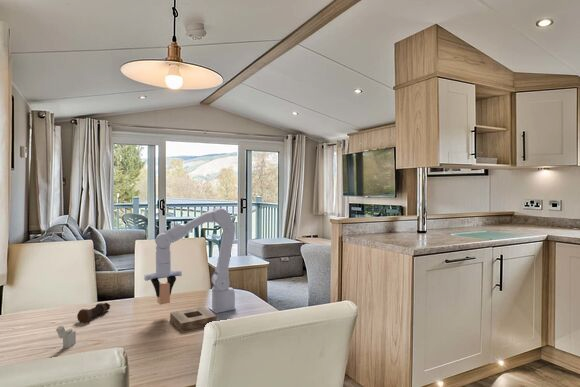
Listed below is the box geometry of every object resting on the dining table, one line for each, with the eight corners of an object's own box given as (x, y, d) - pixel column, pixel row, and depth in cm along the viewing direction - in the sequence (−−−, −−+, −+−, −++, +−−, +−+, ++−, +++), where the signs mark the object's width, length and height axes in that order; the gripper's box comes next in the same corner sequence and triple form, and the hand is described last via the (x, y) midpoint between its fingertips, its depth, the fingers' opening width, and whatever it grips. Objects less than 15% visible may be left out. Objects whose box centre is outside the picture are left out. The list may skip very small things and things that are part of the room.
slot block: (203, 313, 156) (203, 306, 156) (216, 323, 145) (216, 316, 144) (170, 320, 148) (170, 312, 148) (181, 331, 137) (181, 323, 137)
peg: (167, 300, 155) (167, 281, 155) (169, 302, 152) (169, 283, 152) (157, 302, 153) (157, 282, 153) (159, 304, 150) (159, 285, 150)
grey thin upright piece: (71, 342, 127) (71, 319, 127) (76, 342, 127) (75, 319, 127) (56, 351, 120) (55, 327, 120) (60, 352, 120) (60, 327, 120)
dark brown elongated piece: (108, 314, 160) (84, 326, 145) (99, 308, 161) (74, 319, 146) (115, 303, 160) (91, 314, 145) (106, 297, 160) (81, 307, 146)
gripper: (177, 259, 160) (178, 290, 160) (142, 263, 152) (142, 295, 152) (183, 261, 154) (183, 294, 154) (146, 266, 146) (146, 300, 146)
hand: (163, 295), depth 153 cm, fingers closed on peg, 4 cm apart
